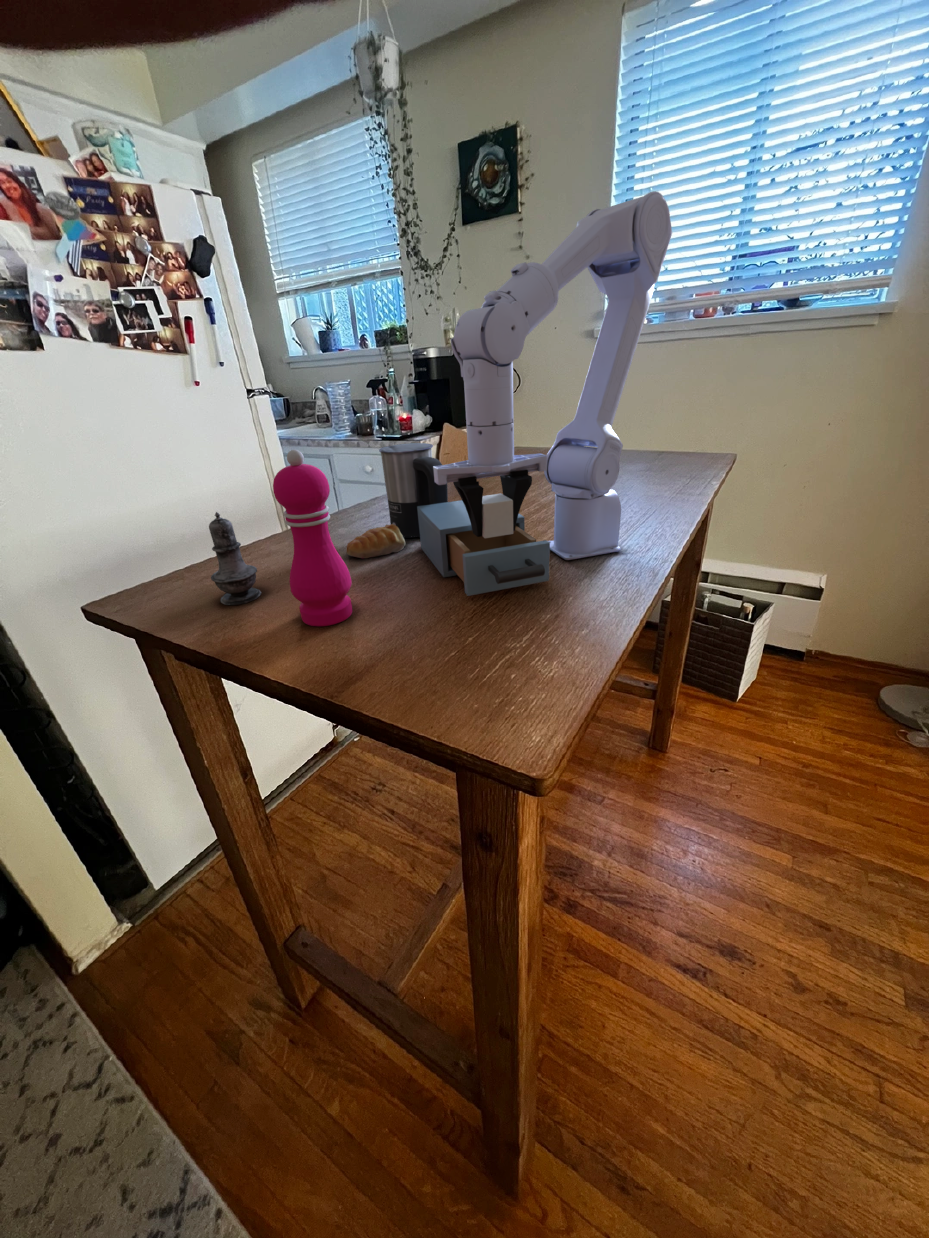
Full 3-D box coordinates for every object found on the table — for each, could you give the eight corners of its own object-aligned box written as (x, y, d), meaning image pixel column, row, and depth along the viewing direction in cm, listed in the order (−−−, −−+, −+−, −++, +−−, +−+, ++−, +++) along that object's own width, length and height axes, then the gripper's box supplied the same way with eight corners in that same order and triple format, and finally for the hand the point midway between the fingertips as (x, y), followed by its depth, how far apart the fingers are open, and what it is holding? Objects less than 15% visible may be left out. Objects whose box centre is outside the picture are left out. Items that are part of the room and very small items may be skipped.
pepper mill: (327, 634, 59) (289, 457, 49) (285, 621, 62) (243, 454, 53) (368, 609, 64) (342, 445, 55) (328, 598, 67) (296, 443, 58)
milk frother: (379, 535, 91) (367, 450, 84) (429, 512, 102) (422, 435, 96) (444, 545, 84) (437, 453, 77) (490, 519, 96) (487, 438, 89)
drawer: (564, 593, 63) (565, 553, 60) (478, 609, 60) (476, 568, 57) (512, 551, 77) (511, 517, 75) (441, 563, 74) (438, 528, 72)
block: (502, 525, 69) (501, 493, 67) (513, 534, 66) (513, 500, 63) (474, 530, 68) (473, 497, 66) (484, 538, 65) (483, 504, 62)
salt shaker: (219, 610, 66) (191, 521, 61) (216, 594, 71) (190, 511, 65) (266, 599, 68) (243, 513, 63) (260, 584, 73) (238, 503, 68)
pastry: (359, 564, 78) (355, 541, 76) (339, 554, 83) (335, 532, 81) (409, 549, 83) (406, 526, 82) (388, 540, 88) (385, 519, 86)
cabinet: (524, 563, 75) (524, 516, 71) (443, 577, 72) (439, 529, 68) (492, 537, 86) (490, 496, 83) (421, 548, 83) (416, 506, 80)
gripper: (441, 433, 55) (450, 549, 62) (559, 420, 59) (556, 532, 65) (425, 426, 61) (435, 533, 68) (534, 415, 65) (533, 518, 71)
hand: (493, 532), depth 67 cm, fingers closed on block, 4 cm apart
